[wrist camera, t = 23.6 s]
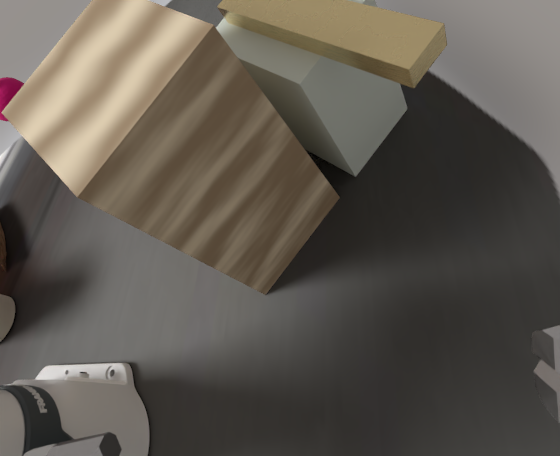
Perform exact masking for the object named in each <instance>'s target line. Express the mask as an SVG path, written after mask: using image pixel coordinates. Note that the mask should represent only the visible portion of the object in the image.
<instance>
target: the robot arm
mask: <svg viewBox="0 0 560 456" xmlns="http://www.w3.org/2000/svg"><path fill="white" fill-rule="evenodd" d="M531 346H532V352H533V353H534V354H535V355H536V356H537V357H538V358H539V359H540V361H539V363H538V365H537V367H536V368H535V370H534V380H535V387H536V390H537V392H538V395H539V397H540V399H541V402H542V403H543V405H544V406H545V408H546V409H547V410H548V412H549V413H550V414H551V415H552V416H553V417H554V418H555V419H556V420H557V421H558V422H559V423H560V325H557V326H553V327H549V328H545V329H541V330H537V331H534V332H533V335H532V338H531ZM114 372H115V374H114ZM148 449H149V423H148V417H147V413H146V410H145V407H144V404H143V402H142V400H141V398H140V397H139V395H138V393H137V391H136V389H135V387H134V380H133V374H132V369H131V367H130V365H129V364H128V363H102V364H75V365H50V366H46V367H44V368H43V369H42V371H41V372H40V373H39V374H38V376H37V377H36V379H35V380H16V381H15V382H13V383H12V384H7V385H2V386H0V456H147V455H148Z"/></svg>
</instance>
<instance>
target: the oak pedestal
mask: <svg viewBox="0 0 560 456" xmlns="http://www.w3.org/2000/svg"><path fill="white" fill-rule="evenodd" d="M1 113H2V114H3V115H4V116H5V117H6V118H7V119H8V120H9V122H10V123H11V124H12V125H13V126H14V127H15V128H16V129H17V131H18V132H19V133H20V134H21V135H22V136H23V137H24V138H25V139H26V141H27V142H28V143H29V144H30V145H31V146H32V147H33V148H34V149H35V151H36V152H37V153H38V154H39V155H40V156H41V157H42V158H43V160H44V161H45V162H46V163H47V164H48V165H49V166H50V167H51V168H52V170H53V171H54V172H55V173H56V174H57V175H58V176H59V177H60V178H61V180H62V181H63V182H64V183H65V184H66V185H67V186H68V187H69V189H70V190H71V191H72V192H73V193H74V194H75V195H76V196H77V197H78V198H80V199H82V200H84V201H86V202H87V203H89V204H91V205H93V206H95V207H97V208H99V209H101V210H103V211H105V212H107V213H109V214H111V215H113V216H114V217H116V218H118V219H120V220H122V221H124V222H126V223H128V224H130V225H132V226H134V227H136V228H138V229H139V230H141V231H143V232H145V233H147V234H149V235H151V236H153V237H155V238H157V239H159V240H161V241H163V242H164V243H166V244H168V245H170V246H172V247H174V248H176V249H178V250H180V251H182V252H184V253H186V254H188V255H190V256H191V257H193V258H195V259H197V260H199V261H201V262H203V263H205V264H207V265H209V266H211V267H213V268H215V269H216V270H218V271H220V272H222V273H224V274H226V275H228V276H230V277H232V278H234V279H236V280H238V281H240V282H242V283H243V284H245V285H247V286H249V287H251V288H253V289H255V290H257V291H259V292H261V293H263V294H265V295H266V294H267V292H268V291H269V290H270V288H271V287H272V286H273V284H274V283H275V282H276V281H277V279H278V278H279V277H280V275H281V274H282V273H283V271H284V270H285V269H286V267H287V266H288V265H289V264H290V262H291V261H292V260H293V258H294V257H295V256H296V254H297V253H298V252H299V250H300V249H301V248H302V246H303V245H304V244H305V243H306V241H307V240H308V239H309V237H310V236H311V235H312V233H313V232H314V231H315V229H316V228H317V227H318V226H319V224H320V223H321V222H322V220H323V219H324V218H325V216H326V215H327V214H328V212H329V211H330V210H331V209H332V207H333V206H334V205H335V203H336V202H337V201H338V199H339V198H340V197H339V196H338V194H337V193H336V192H335V190H334V189H333V187H332V186H331V185H330V183H329V182H328V181H327V179H326V178H325V177H324V175H323V174H322V172H321V171H320V170H319V168H318V167H317V166H316V164H315V163H314V161H313V160H312V159H311V157H310V156H309V155H308V153H307V152H306V151H305V149H304V148H303V146H302V145H301V144H300V142H299V141H298V140H297V138H296V137H295V136H294V134H293V133H292V131H291V130H290V129H289V127H288V126H287V125H286V123H285V122H284V121H283V119H282V118H281V116H280V115H279V114H278V112H277V111H276V110H275V108H274V107H273V106H272V104H271V103H270V101H269V100H268V99H267V97H266V96H265V95H264V93H263V92H262V90H261V89H260V88H259V86H258V85H257V84H256V82H255V81H254V80H253V78H252V77H251V75H250V74H249V73H248V71H247V70H246V69H245V67H244V66H243V65H242V63H241V62H240V60H239V59H238V58H237V56H236V55H235V54H234V52H233V51H232V50H231V48H230V47H229V45H228V44H227V43H226V41H225V40H224V39H223V37H222V36H221V35H220V33H219V32H218V30H217V29H216V28H215V26H214V25H212V24H209V23H207V22H204V21H201V20H199V19H196V18H193V17H191V16H188V15H185V14H183V13H180V12H177V11H175V10H172V9H169V8H167V7H164V6H161V5H159V4H156V3H153V2H151V1H148V0H92V1H91V2H90V3H89V5H88V6H87V7H86V8H85V10H84V11H83V12H82V13H81V15H80V16H79V17H78V18H77V19H76V21H75V22H74V23H73V25H72V26H71V27H70V28H69V30H68V31H67V32H66V33H65V35H64V36H63V37H62V38H61V39H60V41H59V42H58V43H57V44H56V46H55V47H54V48H53V49H52V50H51V52H50V53H49V54H48V55H47V57H46V58H45V59H44V60H43V62H42V63H41V64H40V65H39V67H38V68H37V69H36V70H35V72H34V73H33V74H32V75H31V77H30V78H29V79H28V80H27V81H26V83H25V84H24V85H23V86H22V88H21V89H20V90H19V91H18V93H17V94H16V95H15V96H14V97H13V99H12V100H11V101H10V102H9V104H8V105H7V106H6V107H5V109H4V110H3V111H2V112H1Z"/></svg>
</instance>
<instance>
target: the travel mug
mask: <svg viewBox="0 0 560 456" xmlns="http://www.w3.org/2000/svg"><path fill="white" fill-rule="evenodd" d="M14 316H15V303H14V301H13V299H12V298H11V297H9V296H6V295H2V294H0V342H1V341H2V340H3V338H4V337H5V336H6V335H7V333H8V332H9V330H10V328H11V326H12V324H13V320H14Z"/></svg>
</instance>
